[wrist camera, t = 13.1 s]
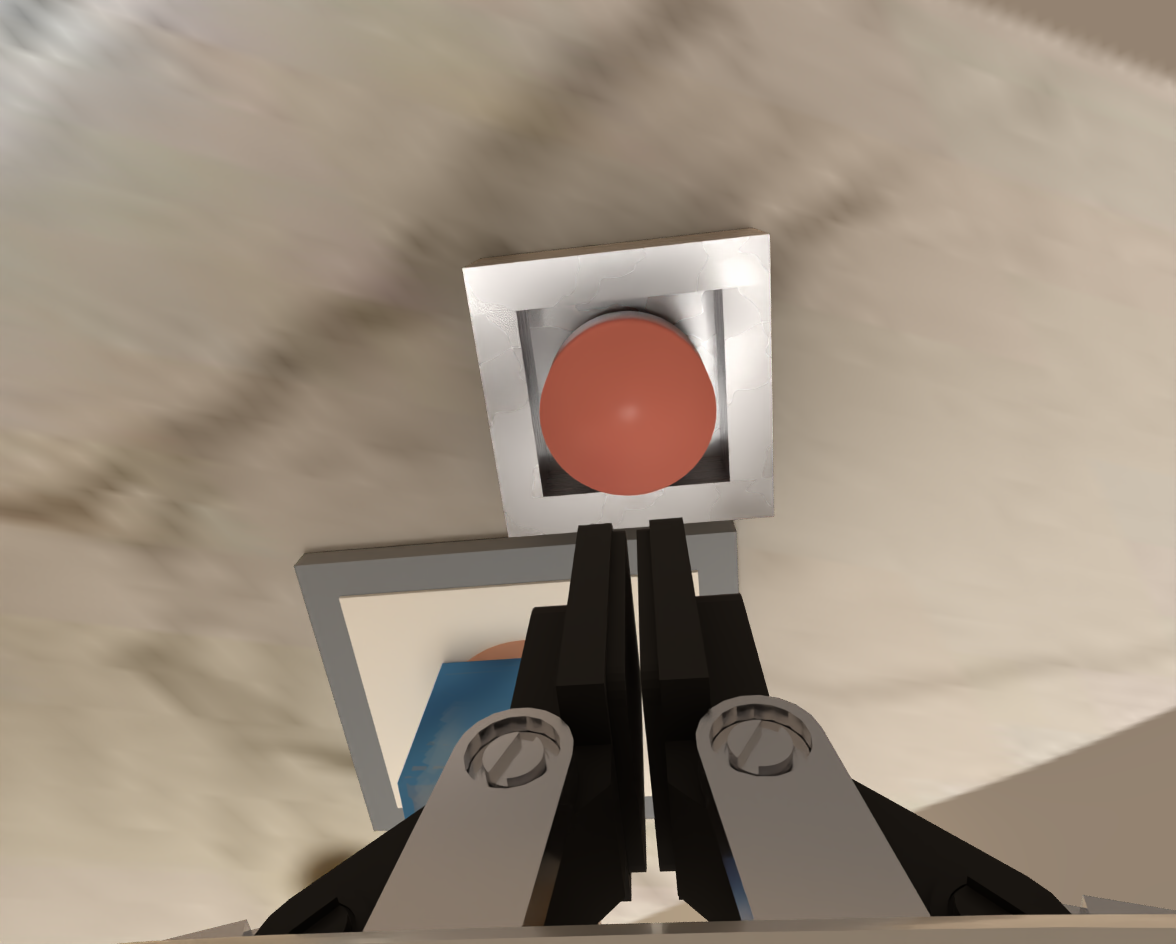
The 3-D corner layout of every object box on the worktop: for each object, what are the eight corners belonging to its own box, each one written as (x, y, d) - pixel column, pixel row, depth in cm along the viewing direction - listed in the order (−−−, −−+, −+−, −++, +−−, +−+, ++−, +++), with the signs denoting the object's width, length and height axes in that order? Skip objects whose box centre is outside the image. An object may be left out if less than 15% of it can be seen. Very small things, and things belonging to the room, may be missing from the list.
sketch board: (380, 813, 34) (372, 835, 33) (304, 553, 29) (291, 569, 27) (743, 796, 32) (747, 819, 31) (732, 519, 27) (737, 535, 26)
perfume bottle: (610, 772, 31) (603, 1110, 19) (469, 780, 31) (383, 1113, 20) (594, 653, 28) (576, 958, 17) (442, 663, 29) (328, 966, 18)
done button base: (520, 501, 27) (508, 537, 24) (481, 258, 24) (462, 268, 21) (758, 481, 27) (774, 516, 24) (752, 227, 23) (769, 233, 20)
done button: (558, 470, 25) (551, 502, 22) (537, 319, 23) (527, 336, 20) (710, 457, 24) (720, 488, 22) (702, 302, 22) (712, 317, 20)
